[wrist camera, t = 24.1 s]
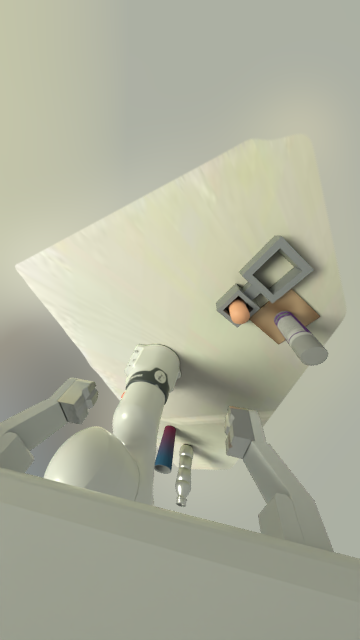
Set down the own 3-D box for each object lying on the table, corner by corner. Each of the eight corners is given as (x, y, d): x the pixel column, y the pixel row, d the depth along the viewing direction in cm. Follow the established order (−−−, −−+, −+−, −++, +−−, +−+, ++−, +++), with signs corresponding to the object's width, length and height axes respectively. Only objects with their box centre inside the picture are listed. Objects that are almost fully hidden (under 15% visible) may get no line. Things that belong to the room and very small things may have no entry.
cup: (172, 435, 80) (165, 475, 67) (160, 428, 79) (150, 468, 66) (180, 429, 77) (174, 470, 63) (168, 422, 76) (159, 462, 62)
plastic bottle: (185, 441, 80) (178, 499, 63) (196, 447, 82) (193, 506, 64) (177, 445, 83) (169, 502, 66) (188, 451, 85) (182, 509, 67)
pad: (277, 343, 49) (278, 344, 48) (248, 317, 46) (248, 319, 46) (319, 315, 43) (320, 316, 43) (287, 285, 41) (288, 286, 40)
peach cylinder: (235, 312, 46) (239, 327, 39) (224, 303, 45) (227, 316, 38) (247, 301, 44) (253, 315, 37) (235, 292, 43) (240, 304, 36)
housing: (238, 321, 47) (241, 331, 43) (212, 299, 46) (212, 306, 41) (304, 266, 38) (316, 270, 34) (274, 235, 37) (283, 236, 32)
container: (295, 322, 44) (331, 361, 31) (276, 329, 46) (303, 368, 33) (290, 307, 43) (326, 342, 30) (271, 315, 44) (296, 351, 31)
